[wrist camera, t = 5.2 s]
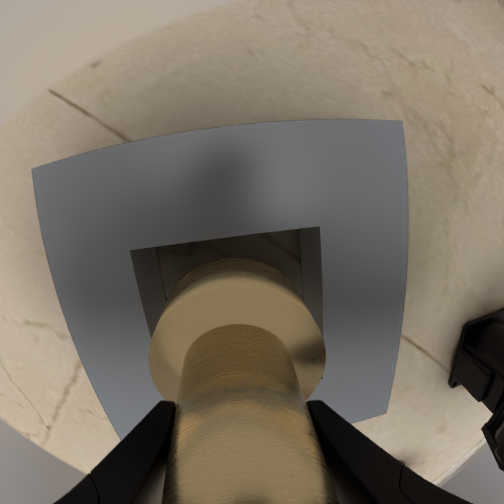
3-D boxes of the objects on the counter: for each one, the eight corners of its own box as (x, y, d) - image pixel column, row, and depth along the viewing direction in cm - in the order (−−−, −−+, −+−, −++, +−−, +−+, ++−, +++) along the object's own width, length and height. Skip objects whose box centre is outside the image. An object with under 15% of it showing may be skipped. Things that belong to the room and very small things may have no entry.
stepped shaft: (313, 260, 12) (484, 464, 2) (296, 380, 14) (359, 575, 4) (159, 255, 12) (20, 486, 2) (169, 379, 13) (133, 583, 3)
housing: (364, 129, 15) (402, 120, 11) (363, 376, 19) (386, 413, 15) (71, 166, 14) (31, 169, 10) (136, 405, 18) (123, 445, 15)
